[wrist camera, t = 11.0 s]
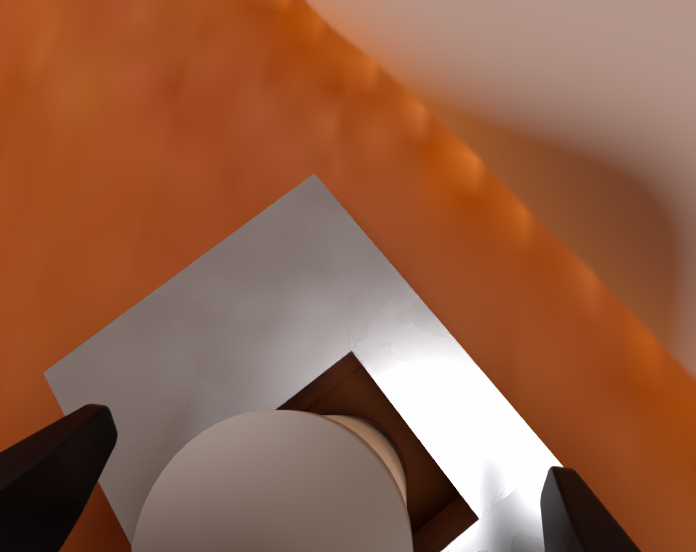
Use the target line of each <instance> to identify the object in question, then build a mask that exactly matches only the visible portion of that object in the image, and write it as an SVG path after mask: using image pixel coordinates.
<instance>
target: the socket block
mask: <svg viewBox="0 0 696 552" xmlns="http://www.w3.org/2000/svg"><path fill="white" fill-rule="evenodd" d="M362 365H363V366H364V368H365V369H366V370H367V371H368V373H369V374H370V375H371V377H372V378H373V379H374V381H375V382H376V383H377V385H378V386H379V387H380V389H381V390H382V391H383V393H384V394H385V395H386V396H387V398H388V399H389V400H390V402H391V403H392V404H393V406H394V407H395V408H396V410H397V411H398V412H399V414H400V415H401V416H402V418H403V419H404V420H405V421H406V423H407V424H408V425H409V427H410V428H411V429H412V431H413V432H414V433H415V435H416V436H417V437H418V439H419V440H420V441H421V443H422V444H423V445H424V446H425V448H426V449H427V450H428V452H429V453H430V454H431V456H432V457H433V458H434V460H435V461H436V462H437V464H438V465H439V466H440V468H441V469H442V470H443V471H444V473H445V474H446V475H447V477H448V478H449V479H450V481H451V482H452V483H453V485H454V486H455V487H456V489H457V490H458V491H459V493H460V495H459V496H458V497H457V498H456V499H454V500H453V501H452V502H451V503H450V504H448V505H447V506H446V507H445V508H444V509H442V510H441V511H440V512H439V513H438V514H436V515H435V516H434V517H433V518H432V519H430V520H429V521H428V522H427V523H426V524H424V525H423V526H422V527H421V528H420V529H418V530H417V531H416V532H415V533H414V534H412V539H413V552H545V548H544V538H543V528H542V518H541V509H540V497H541V492H542V489H543V485H544V482H545V479H546V476H547V472H548V470H549V468H550V467H551V466H559V467H563V466H562V465H561V464H560V463H559V461H558V460H557V459H556V458H555V457H554V455H553V454H552V453H551V452H550V451H549V450H548V448H547V447H546V446H545V445H544V444H543V443H542V441H541V440H540V439H539V438H538V437H537V435H536V434H535V433H534V432H533V431H532V430H531V428H530V427H529V426H528V425H527V424H526V422H525V421H524V420H523V419H522V418H521V417H520V415H519V414H518V413H517V412H516V411H515V410H514V408H513V407H512V406H511V405H510V404H509V402H508V401H507V400H506V399H505V398H504V397H503V395H502V394H501V393H500V392H499V391H498V389H497V388H496V387H495V386H494V385H493V384H492V382H491V381H490V380H489V379H488V378H487V377H486V375H485V374H484V373H483V372H482V371H481V369H480V368H479V367H478V366H477V365H476V364H475V362H474V361H473V360H472V359H471V358H470V356H469V355H468V354H467V353H466V352H465V351H464V349H463V348H462V347H461V346H460V345H459V344H458V342H457V341H456V340H455V339H454V338H453V336H452V335H451V334H450V333H449V332H448V331H447V329H446V328H445V327H444V326H443V325H442V323H441V322H440V321H439V320H438V319H437V318H436V316H435V315H434V314H433V313H432V312H431V311H430V309H429V308H428V307H427V306H426V305H425V303H424V302H423V301H422V300H421V299H420V298H419V296H418V295H417V294H416V293H415V292H414V290H413V289H412V288H411V287H410V286H409V285H408V283H407V282H406V281H405V280H404V279H403V277H402V276H401V275H400V274H399V273H398V272H397V270H396V269H395V268H394V267H393V266H392V265H391V263H390V262H389V261H388V260H387V259H386V257H385V256H384V255H383V254H382V253H381V252H380V250H379V249H378V248H377V247H376V246H375V244H374V243H373V242H372V241H371V240H370V239H369V237H368V236H367V235H366V234H365V233H364V232H363V230H362V229H361V228H360V227H359V226H358V224H357V223H356V222H355V221H354V220H353V219H352V217H351V216H350V215H349V214H348V213H347V211H346V210H345V209H344V208H343V207H342V206H341V204H340V203H339V202H338V201H337V200H336V199H335V197H334V196H333V195H332V194H331V193H330V191H329V190H328V189H327V188H326V187H325V186H324V184H323V183H322V182H321V181H320V180H319V178H318V177H317V176H316V175H315V174H313V175H311V176H310V177H309V178H307V179H306V180H305V181H303V182H302V183H301V184H299V185H298V186H296V187H295V188H294V189H292V190H291V191H290V192H288V193H287V194H286V195H284V196H283V197H281V198H280V199H279V200H277V201H276V202H275V203H273V204H272V205H271V206H269V207H268V208H267V209H265V210H264V211H262V212H261V213H260V214H258V215H257V216H256V217H254V218H253V219H252V220H250V221H249V222H247V223H246V224H245V225H243V226H242V227H241V228H239V229H238V230H237V231H235V232H234V233H233V234H231V235H230V236H228V237H227V238H226V239H224V240H223V241H222V242H220V243H219V244H218V245H216V246H215V247H213V248H212V249H211V250H209V251H208V252H207V253H205V254H204V255H203V256H201V257H200V258H199V259H197V260H196V261H194V262H193V263H192V264H190V265H189V266H188V267H186V268H185V269H184V270H182V271H181V272H179V273H178V274H177V275H175V276H174V277H173V278H171V279H170V280H169V281H167V282H166V283H165V284H163V285H162V286H160V287H159V288H158V289H156V290H155V291H154V292H152V293H151V294H150V295H148V296H147V297H145V298H144V299H143V300H141V301H140V302H139V303H137V304H136V305H135V306H133V307H132V308H131V309H129V310H128V311H126V312H125V313H124V314H122V315H121V316H120V317H118V318H117V319H116V320H114V321H113V322H111V323H110V324H109V325H107V326H106V327H105V328H103V329H102V330H101V331H99V332H98V333H97V334H95V335H94V336H92V337H91V338H90V339H88V340H87V341H86V342H84V343H83V344H82V345H80V346H79V347H77V348H76V349H75V350H73V351H72V352H71V353H69V354H68V355H67V356H65V357H64V358H63V359H61V360H60V361H58V362H57V363H56V364H54V365H53V366H52V367H50V368H49V369H48V370H46V371H45V372H43V374H44V376H45V377H46V379H47V381H48V383H49V385H50V387H51V389H52V391H53V393H54V395H55V397H56V399H57V401H58V403H59V405H60V407H61V409H62V411H63V413H64V415H65V416H66V415H68V414H70V413H72V412H74V411H75V410H77V409H79V408H81V407H83V406H85V405H87V404H100V405H106V406H108V407H109V408H110V410H111V413H112V416H113V419H114V422H115V425H116V428H117V431H118V438H117V442H116V445H115V447H114V449H113V451H112V453H111V455H110V457H109V459H108V461H107V464H106V466H105V468H104V470H103V472H102V474H101V476H100V478H99V480H98V482H99V484H100V486H101V487H102V489H103V491H104V493H105V495H106V497H107V499H108V501H109V503H110V505H111V507H112V509H113V511H114V513H115V515H116V517H117V519H118V521H119V523H120V525H121V527H122V529H123V531H124V533H125V535H126V537H127V539H128V541H129V542H130V544H131V546H132V542H133V538H134V534H135V530H136V526H137V522H138V519H139V517H140V514H141V511H142V508H143V505H144V503H145V501H146V499H147V497H148V495H149V493H150V491H151V489H152V487H153V485H154V484H155V482H156V480H157V479H158V477H159V476H160V474H161V472H162V471H163V470H164V468H165V467H166V466H167V465H168V463H169V462H170V461H171V460H172V458H173V457H174V456H175V455H176V454H177V453H178V452H179V451H180V450H181V449H182V448H183V447H184V446H185V445H186V444H187V443H188V442H190V441H191V440H192V439H194V438H195V437H196V436H198V435H199V434H200V433H202V432H203V431H205V430H207V429H208V428H210V427H212V426H213V425H215V424H217V423H219V422H222V421H224V420H226V419H229V418H231V417H234V416H237V415H241V414H245V413H248V412H255V411H263V410H295V411H305V410H306V409H307V408H308V407H310V406H311V405H312V404H314V403H315V402H316V401H317V400H319V399H320V398H321V397H322V396H324V395H325V394H326V393H328V392H329V391H330V390H331V389H333V388H334V387H335V386H336V385H338V384H339V383H340V382H342V381H343V380H344V379H345V378H347V377H348V376H349V375H350V374H352V373H353V372H354V371H356V370H357V369H358V368H359V367H361V366H362Z"/></svg>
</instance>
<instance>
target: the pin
mask: <svg viewBox="0 0 696 552" xmlns="http://www.w3.org/2000/svg"><path fill="white" fill-rule="evenodd" d="M131 552H413V539H412V532H411V525H410V519H409V515H408V511H407V503H406V467H405V462H404V458H403V455H402V453H401V450H400V448H399V446H398V445H397V443H396V441H395V440H394V438H393V437H392V436H391V435H390V434H389V433H388V431H387V430H386V429H384V428H383V427H382V426H381V425H379V424H378V423H376V422H374V421H372V420H370V419H368V418H365V417H361V416H356V415H318V414H315V413H310V412H304V411H295V410H263V411H255V412H248V413H245V414H241V415H237V416H234V417H231V418H229V419H226V420H224V421H222V422H219V423H217V424H215V425H213V426H212V427H210V428H208V429H207V430H205V431H203V432H202V433H200V434H199V435H198V436H196V437H195V438H194V439H192V440H191V441H190V442H188V443H187V444H186V445H185V446H184V447H183V448H182V449H181V450H180V451H179V452H178V453H177V454H176V455H175V456H174V457H173V458H172V460H171V461H170V462H169V463H168V465H167V466H166V467H165V468H164V470H163V471H162V472H161V474H160V476H159V477H158V479H157V480H156V482H155V484H154V485H153V487H152V489H151V491H150V493H149V495H148V497H147V499H146V501H145V503H144V505H143V508H142V511H141V514H140V517H139V519H138V522H137V526H136V530H135V534H134V538H133V542H132V549H131Z"/></svg>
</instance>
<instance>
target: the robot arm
mask: <svg viewBox="0 0 696 552" xmlns="http://www.w3.org/2000/svg"><path fill="white" fill-rule="evenodd" d="M117 438H118V431H117V428H116V425H115V422H114V419H113V416H112V413H111V410H110V408H109V407H108V406H106V405H100V404H87V405H85V406H83V407H81V408H79V409H77V410H75V411H74V412H72V413H70V414H68V415H66V416H65V417H63V418H61V419H59V420H58V421H56V422H54V423H52V424H50V425H49V426H47V427H45V428H43V429H41V430H40V431H38V432H36V433H34V434H32V435H31V436H29V437H27V438H25V439H23V440H22V441H20V442H18V443H16V444H15V445H13V446H11V447H9V448H7V449H6V450H4V451H2V452H0V552H59V550H60V549H61V547H62V545H63V544H64V542H65V541H66V539H67V537H68V536H69V534H70V532H71V531H72V529H73V527H74V526H75V524H76V522H77V521H78V519H79V517H80V515H81V514H82V512H83V510H84V508H85V506H86V504H87V502H88V500H89V498H90V496H91V494H92V492H93V490H94V488H95V486H96V484H97V482H98V480H99V478H100V476H101V474H102V472H103V470H104V468H105V466H106V464H107V461H108V459H109V457H110V455H111V453H112V451H113V449H114V447H115V445H116V442H117ZM540 509H541V518H542V528H543V538H544V548H545V552H641V550H640V549H639V548H638V547H637V546H636V544H635V543H634V542H633V541H632V539H631V538H630V537H629V536H628V534H627V533H626V532H625V531H624V529H623V528H622V527H621V526H620V525H619V523H618V522H617V521H616V520H615V518H614V517H613V516H612V515H611V513H610V512H609V511H608V510H607V509H606V507H605V506H604V505H603V504H602V502H601V501H600V500H599V499H598V497H597V496H596V495H595V494H594V492H593V491H592V490H591V489H590V488H589V486H588V485H587V484H586V483H585V481H584V480H583V479H582V478H581V476H580V475H579V474H578V473H577V472H576V471H575V470H574V469H572V468H567V467H559V466H551V467H550V468H549V470H548V472H547V476H546V479H545V482H544V485H543V489H542V492H541V497H540Z"/></svg>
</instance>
